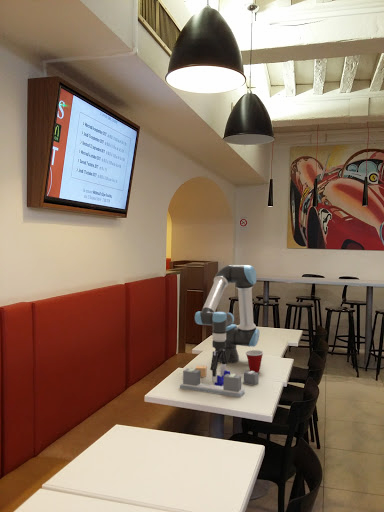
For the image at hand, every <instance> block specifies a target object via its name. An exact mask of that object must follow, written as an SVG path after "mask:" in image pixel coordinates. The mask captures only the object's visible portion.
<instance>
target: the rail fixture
mask: <svg viewBox="0 0 384 512" xmlns="http://www.w3.org/2000/svg"><path fill="white" fill-rule="evenodd" d="M201 379H202V378H201V370H196V369H195V368H193V367H191V368H186V369H184V370H183V371H182V383H181V384H180V385H179V389H184V390H190V391H197V392H203V393H210V394H216V395H217V394H218V395H223V396H230V397H237V398H242V397H243V396H244V395H245V390H243V389H242V375H238V374H236V373H230V374H226V375H225V376H224V385H223V386H216V385H214V384H209V383H208V384H207V383H202V382H201V381H202V380H201Z"/></svg>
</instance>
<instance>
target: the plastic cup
mask: <svg viewBox="0 0 384 512" xmlns="http://www.w3.org/2000/svg"><path fill="white" fill-rule="evenodd" d="M245 354H246V355H245V356H246V358H247V363H248V367H249V368H248V369H249V370H248V371H255V372H257V373H260V369H261V365H262V360H263V359H262V358H263V355H264V351H262V350H258V349H252V350H246V351H245Z"/></svg>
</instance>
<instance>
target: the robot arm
mask: <svg viewBox="0 0 384 512" xmlns="http://www.w3.org/2000/svg"><path fill="white" fill-rule="evenodd" d="M256 283H257V271H256V269H255V267H254V266H252V265H248V264H229V265H226V266H223V267H221V268H220V270H218V271H217V273H216V274H215V276H214V278H213V284H212V287H211V288H210V291H209V293H208V295H207V298H206V300H205V302H204V305H203V307H202V309H201V311H197V312H195V314H194V322H195V323H196V324H197V325H200V326H201V325H202V326H205V325H206V326H212V334H211V336H212V346H211V347H212V348H214V350H213V351H212V357H211V362H210V371H211V382H212V383H214V382H216V383H217V375H218V365H219V362H221V363H220V376H223V375H224V371H225V370H226V366H227V365H228V363H236V362H239V361H240V355H239V353H238V352H239V351H238V349H237V346H242V347H253V348H254V347H256V346H257V344H258V342H259V340H260V339H259V338H260V329H258V328H257V326H256V324H255V323H254V310H253V291H252V289H253V288H254V287H255V284H256ZM229 284H234V286H235V289H236V290H238V291H237V295H238V311H239V324H238V325H237V324H235V323H234V321H235V316H234V315H233V314H232V313H231V312H225V311H216V310H217V308H218V306H219V303H220V301H221V298H222V296H223V293H224V291H225V288H226V287H228V286H229ZM226 371H227V370H226Z"/></svg>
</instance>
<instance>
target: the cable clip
mask: <svg viewBox="0 0 384 512" xmlns="http://www.w3.org/2000/svg"><path fill="white" fill-rule="evenodd" d="M226 374H231V371H230V370H225V371H224V375H223V376H221V375H220V374H219V375H218V374H217V383H216V382H213V383H214V384H213V385H216V386H223V385H224V376H225V375H226Z"/></svg>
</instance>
